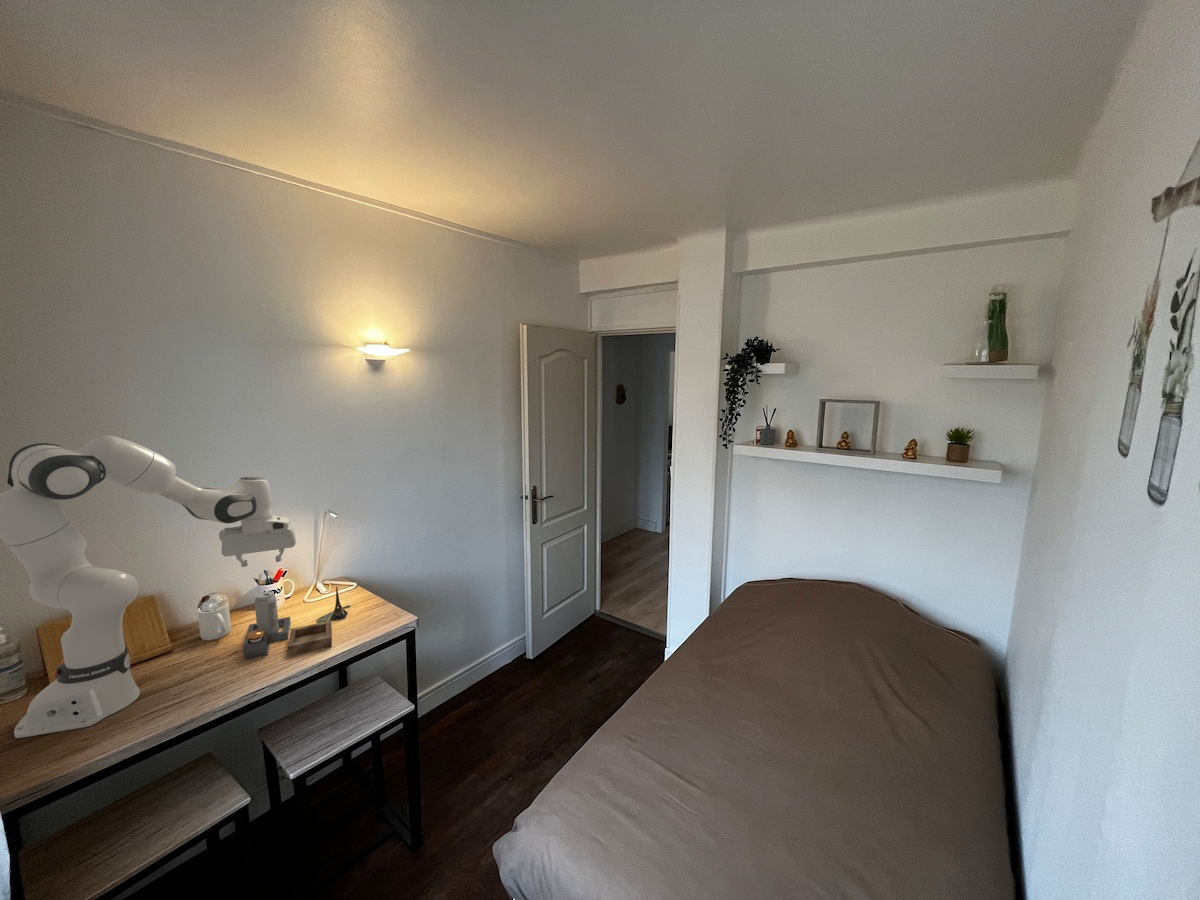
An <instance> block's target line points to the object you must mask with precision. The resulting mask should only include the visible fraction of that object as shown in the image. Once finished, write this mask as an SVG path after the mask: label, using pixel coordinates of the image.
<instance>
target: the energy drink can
mask: <svg viewBox="0 0 1200 900" xmlns="http://www.w3.org/2000/svg"><path fill="white" fill-rule="evenodd" d="M255 597H256V598H255V600H254V611H255V619H256V623H257V630H258V629H262V630H264V633H266V632H268V634H273V633H277V632H280V627H279V624H278V619H279V616H278V613H279V612H278V604H277V597H276V595H275V594H274V592H273V591H269V590H268V591H267V590H266V591H263V592H260V593H257V594H256V596H255Z"/></svg>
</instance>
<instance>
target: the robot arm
mask: <svg viewBox="0 0 1200 900" xmlns="http://www.w3.org/2000/svg"><path fill="white" fill-rule="evenodd" d="M176 474H177V469H176V465H175V464H174V463H173V462H172V461H171V460H169V459H168V458H166V457H165V456H164V455H162V454H160V453H158V452H156V451H154V450H152V449H150V448H148V447H145V446H144V445H141V444H139V443H136V442H134V441H131V440H128V439H125V438H121V437H117V436H114V435H101V436H100V435H99V436H98V437H95V438H93V439H92V440H91V439H90V440H89V441H88V442H87V443H85V445H84V446H83V447H81V448H79V449H74V450H70V449H67V448H66V447H64V446H62V445H59V444H54V443H48V442H44V443H43V442H41V443H40V442H39V443H37V442H36V443H32V444H28V445H24V446H23V447H21V448H19V449H18V450H17V451H15V452H14V453H13V454H12V456H11V458H10V460H9V467H8V475H7V480H6V481H7V484H8V485H9V486H11V487H12V488H10V489H8V490H5V491H3V492H1V493H0V539H1V541H2V542H3V543H4V545H6V546H7V548H9V550H10V551H11V552H12V554H13V555H14V556H15V557H16V559H18V560H19V562H20V563H21V564H22V565H23V567H24V568H25V570H26V572H27V573H28V577H29V579H30V581H31V582H30V584H29V586H28V593H29V597H31V598H32V600H34V601H35V602H37V603H39V604H41V605H43V606H46V607H48V608H51V609H52V608H53V609H58V610H59V609H61V610H68V611H69V612H70V614H71V623H70V627H69V628H68V629H67V630H66V631H64V632H63V633H62V636H61V639H60V643H61V648H62V654H63V659H62V660H61V661H60V662H59V666H57V667H56V668H55V671H54V672H53V673H52V679H55V680H54V681H53V682H51V683H50V684H48V685H47V686H46V687H45V688H44V689H42V690H41V691H39V693H38V694H36V696H34V697H33V699H32V700H31V701H30V703H29V705H28V707H27V711H26V714H25V715H24V716H23V717H22V718H21V719H20V720H19V722H18V723H17V724H16V725H15V727H14V731H13V735H14V738H15V739H21V738H29V737H34V736H39V735H46V734H52V733H57V732H65V731H69V730H76V729H81V728H83V729H84V728H88V727H91V726H93V725H96V724H97V723H99V722H101V721H102V720H103V719H105V718H108V716H111V715H113V714H115V713H117V712H119V711H121V710H123V709H125V708H126V707H128V706H129V705H132V703H133V702H135V701H136V700H137V699H138V697H140V695H141V690H140V688H139V687H138V685H137V684H136V682H135V679H134V678H133V675H132V672H131V669H130V668H131V658H130V654H129V650H128V646H126V644H125V638H124V630H123V619H124V614H125V611H126V608H127V607H128V606H130V605H131V603H133V602H134V600H135V599H136V597H137V595H138V593H139V587H140V585H139V582H138V579H137V578H136V577H134V576H133V575H131V574H129V573H127V572H125V571H122V570H118V569H114V568H105V567H104V568H103V567H98V566H95V565H93V564H91V563H90V562H89V561H88V560H87V558H86V555H85V551H86V549H87V546H88V541H87V540H86V538H85V537H84V536H83V534H82V533H81V532H80V531H79V529H78V528H77V527H76V525H75V524H74V523H73V522H72V520H71V519H70V517H69V516H68V515H67V514H66V513H65V511H64V510H63V508H62V506H61V504H60V503H61V502H60V501H63V500H64V501H66V500H71V499H75V498H78V497H80V496H82V495H84V494H86V493H88V492H89V491H91V489H92V488H94V487H96V486H97V485H98V484H100V483H101V482H103V481H104V480H107V481H110V482H112V483H115V484H117V485H120V486H122V487H125V488H128V489H131V490H133V491H137V492H140V493H143V494H144V493H145V494H150V495H151V494H153V495H154V494H158V495H160V496H161V497H165V498H166V499H169V500H171V501H173V502H176V503H178V504H180V505H181V506H182V507H184V508H185V510H186V511H187V512H188V513H189V515H191V516H192V517H193V518H195V519H199V520H207V521H212V522H215V523H221V524H233V523H237V522H239V521H240V525H238V526H232V527H225V528H224V529H222V530H220V532H219V533H218V536H219V541H221V555H222V556H223V557H233V556H235V558H236V560H237V561H239V563H240V565H241V566H240V567H241V568H245V567H248V559H244V558H243V557H242V556H243V555H246V554H255V553H262V552H269V551H276V550H278V552H279V554H278V555H275V562H276V563H277V562H282V555H283V554H284V552H285V549H290V548H294V547H295V546H296V543H297V539H296V534H295V531H294V527H292V525H291V524H290V522H291V521H290V518H289V517H285V516H279V515H278V516H277V515H274V512H273V510H272V502H273V498H272V492H271V486H270V483H269V482H268V479H266V478H263V477H259V476H257V477H256V476H243V477H240V478H239V479H238V480H237V482H236V483H235V484H233V485H232V486H230V487H229V488H227V489H225V490H220V489H216V488H211V487H199V486H195V484H192V483H189V482H188V481H186V480H183V479H181V478H180V477H178V476H177V475H176Z"/></svg>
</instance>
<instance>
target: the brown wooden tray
mask: <svg viewBox="0 0 1200 900" xmlns="http://www.w3.org/2000/svg"><path fill="white" fill-rule="evenodd" d="M332 628H333V627H332V621H329V620H328V621H326V622H322V623H317V622H316V623H314V624H309V625H304V626H298V627H293V628H290V631H289V637H288V644H287V651H288V658H289V657H290V658H291V657H294V656H298V655H301V654H302V655H303V654H307V653H310V652H315V651H321V650H325V649H328V648H332V647H333V645H332V644H333V640H332V639H333V637H332V636H333V634H332V633H333V629H332Z"/></svg>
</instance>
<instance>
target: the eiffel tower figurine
mask: <svg viewBox="0 0 1200 900" xmlns="http://www.w3.org/2000/svg"><path fill="white" fill-rule="evenodd" d="M335 586H336V587H335V607H334V610H333V611H331V612H329V613H326V614H325V615H322V616H320V617H318V618H317V620H316V624H317V623H322V622H327V621H331V622H334V621H341V620H345V619H346V618H347V616H348V614H349V612H347V610H345V609H349V608H351V607H352V606H351V605H349V604H348V605H345V606H342V605H341V601H340V596H339V590H338V584H336V585H335Z"/></svg>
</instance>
